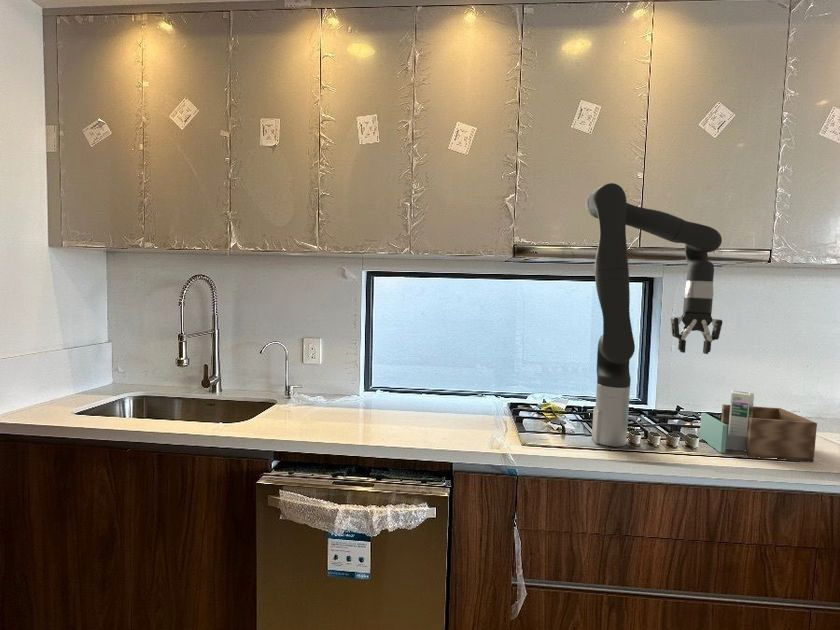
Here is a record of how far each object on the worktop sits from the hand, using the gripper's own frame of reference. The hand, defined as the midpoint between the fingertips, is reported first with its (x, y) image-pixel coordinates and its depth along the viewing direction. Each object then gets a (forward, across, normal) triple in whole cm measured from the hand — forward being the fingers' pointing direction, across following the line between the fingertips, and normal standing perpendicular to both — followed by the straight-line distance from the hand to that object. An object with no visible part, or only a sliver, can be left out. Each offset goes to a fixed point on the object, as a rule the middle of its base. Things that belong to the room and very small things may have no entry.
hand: (693, 352), depth 159 cm
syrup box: (+25, -14, +1) cm, 29 cm away
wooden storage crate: (+27, -21, +1) cm, 35 cm away
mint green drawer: (+27, -13, +1) cm, 30 cm away
